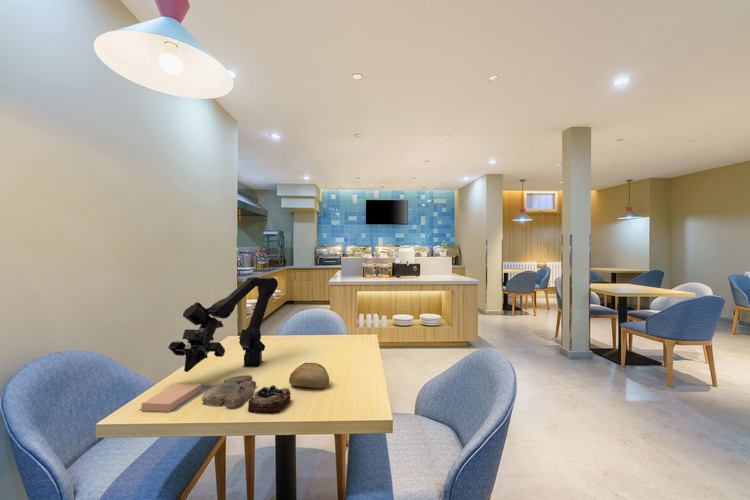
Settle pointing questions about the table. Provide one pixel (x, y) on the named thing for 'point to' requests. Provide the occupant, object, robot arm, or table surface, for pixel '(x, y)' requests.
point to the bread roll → (310, 376)
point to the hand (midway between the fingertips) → (185, 371)
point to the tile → (171, 397)
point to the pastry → (269, 400)
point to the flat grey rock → (230, 392)
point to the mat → (203, 389)
